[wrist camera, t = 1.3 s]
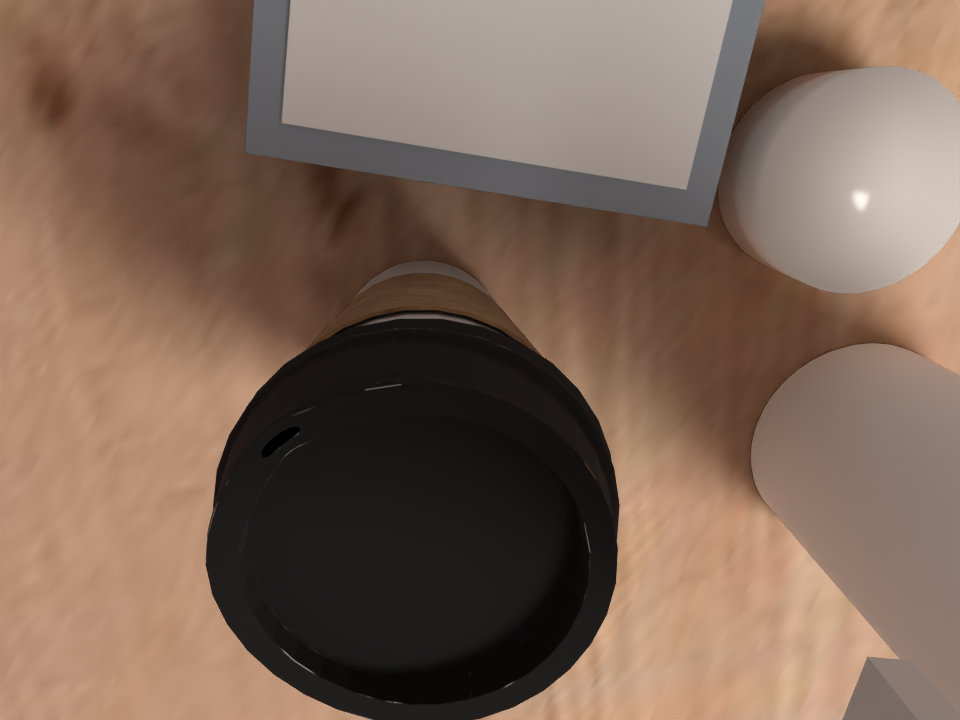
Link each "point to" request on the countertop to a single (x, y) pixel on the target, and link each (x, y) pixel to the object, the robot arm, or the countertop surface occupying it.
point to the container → (875, 491)
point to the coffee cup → (416, 509)
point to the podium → (509, 95)
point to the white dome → (845, 177)
